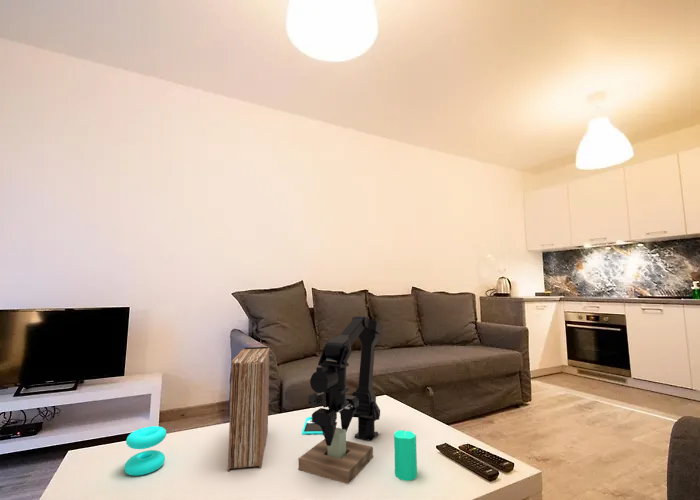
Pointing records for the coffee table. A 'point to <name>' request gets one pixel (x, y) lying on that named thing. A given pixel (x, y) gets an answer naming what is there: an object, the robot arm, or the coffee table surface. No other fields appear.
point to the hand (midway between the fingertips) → (336, 439)
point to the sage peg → (338, 444)
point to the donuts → (146, 459)
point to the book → (249, 407)
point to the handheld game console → (311, 428)
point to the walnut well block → (336, 461)
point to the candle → (405, 455)
